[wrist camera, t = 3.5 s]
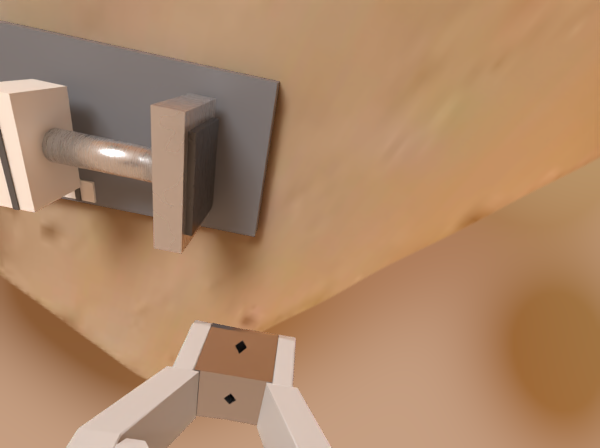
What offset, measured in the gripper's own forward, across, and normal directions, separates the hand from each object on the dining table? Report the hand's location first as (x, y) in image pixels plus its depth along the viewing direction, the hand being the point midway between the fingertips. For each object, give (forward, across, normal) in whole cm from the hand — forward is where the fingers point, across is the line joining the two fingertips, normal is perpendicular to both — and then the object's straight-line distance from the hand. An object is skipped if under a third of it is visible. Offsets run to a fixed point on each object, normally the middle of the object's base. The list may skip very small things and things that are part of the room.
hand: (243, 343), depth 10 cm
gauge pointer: (+13, +15, 0) cm, 20 cm away
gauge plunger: (+14, +9, -1) cm, 16 cm away
